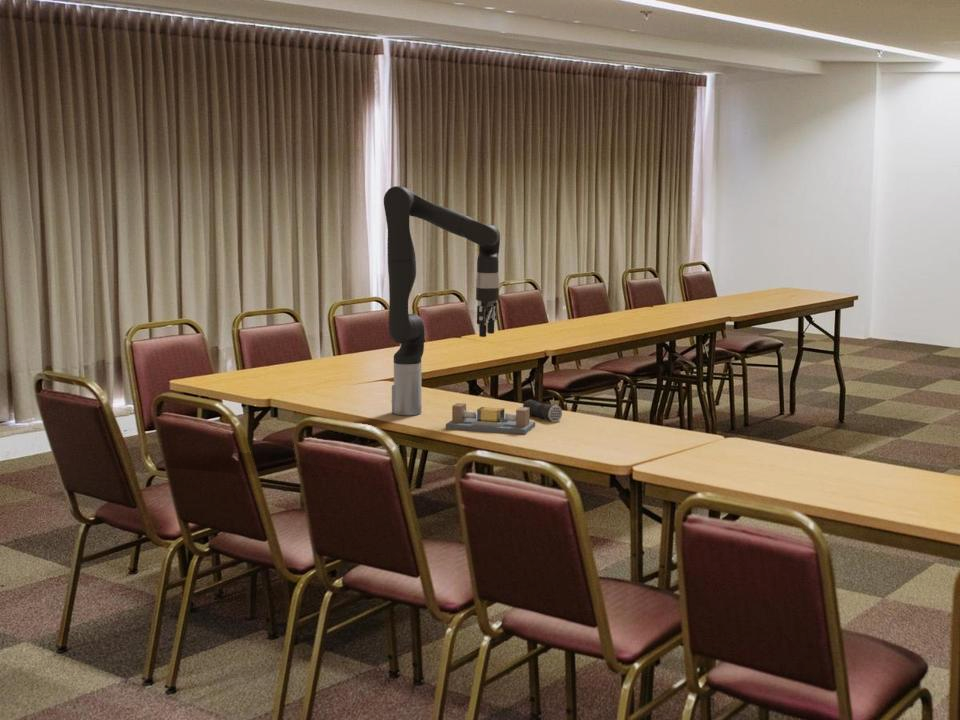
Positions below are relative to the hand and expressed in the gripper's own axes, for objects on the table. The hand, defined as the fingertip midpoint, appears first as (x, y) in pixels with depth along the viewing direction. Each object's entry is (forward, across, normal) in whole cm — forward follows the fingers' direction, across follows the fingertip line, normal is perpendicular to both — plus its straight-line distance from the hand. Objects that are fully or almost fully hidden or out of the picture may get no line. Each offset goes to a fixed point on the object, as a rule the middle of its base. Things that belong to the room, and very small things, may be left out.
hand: (486, 335), depth 381 cm
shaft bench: (+27, -19, -8) cm, 33 cm away
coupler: (+25, -19, -8) cm, 32 cm away
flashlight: (+27, +2, -19) cm, 33 cm away
